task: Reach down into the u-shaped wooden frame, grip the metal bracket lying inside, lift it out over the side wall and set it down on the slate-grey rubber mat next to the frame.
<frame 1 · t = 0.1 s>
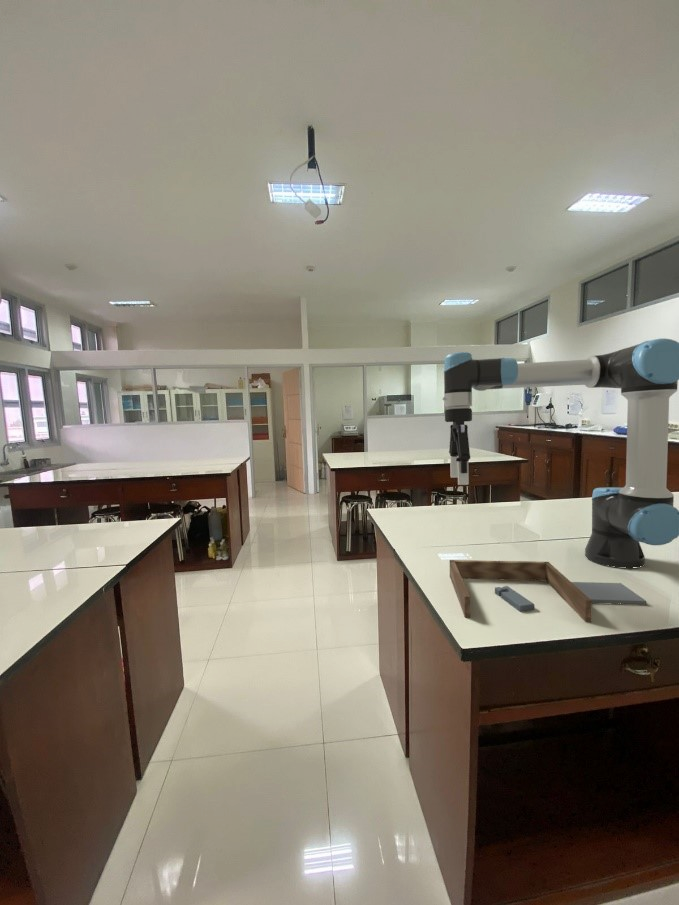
hand: (459, 480, 108), 28 cm above the countertop, tool pointing down, fingers open, 13 cm apart
bracket: (513, 603, 93), on the countertop
u-shaped wooden frame: (510, 596, 95), on the countertop
slate mat: (602, 594, 94), on the countertop
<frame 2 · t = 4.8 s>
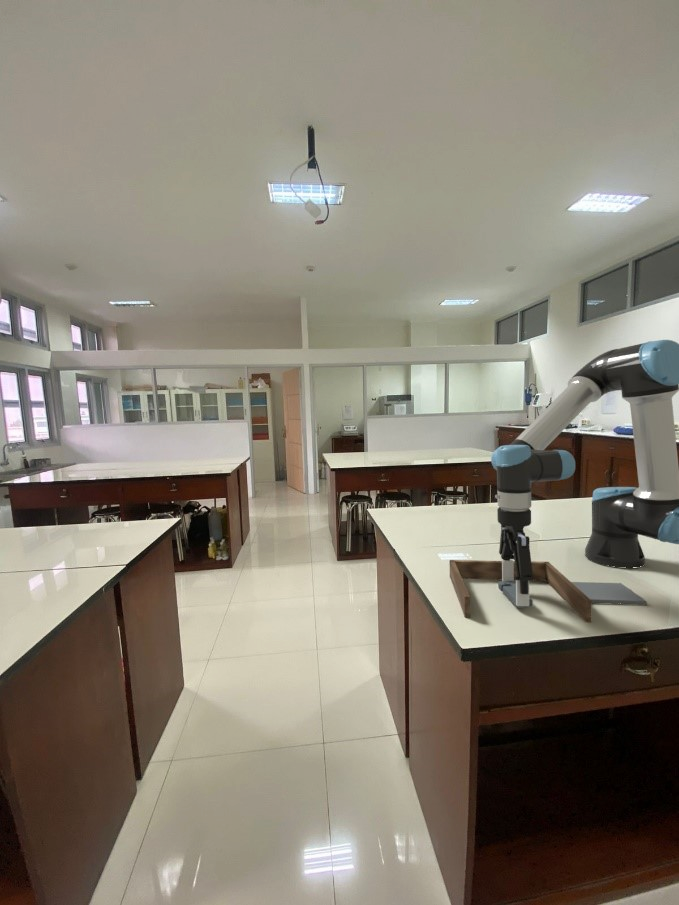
hand: (514, 594, 93), 2 cm above the countertop, tool pointing down, fingers closed on bracket, 11 cm apart
bracket: (514, 598, 93), point 1 cm above the countertop, touching gripper
when the fingers open (3 cm above the countertop, at t = 10.0 s): bracket drops 1 cm, resting on slate mat.
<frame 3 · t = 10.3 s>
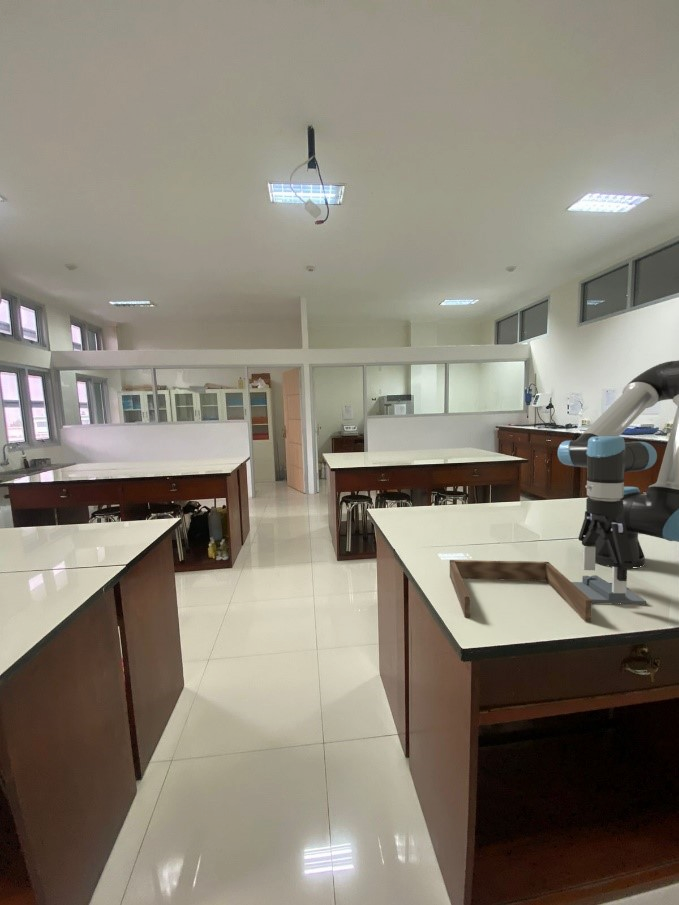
hand: (602, 580, 94), 4 cm above the countertop, tool pointing down, fingers open, 13 cm apart
bracket: (602, 591, 94), point 1 cm above the countertop, touching slate mat
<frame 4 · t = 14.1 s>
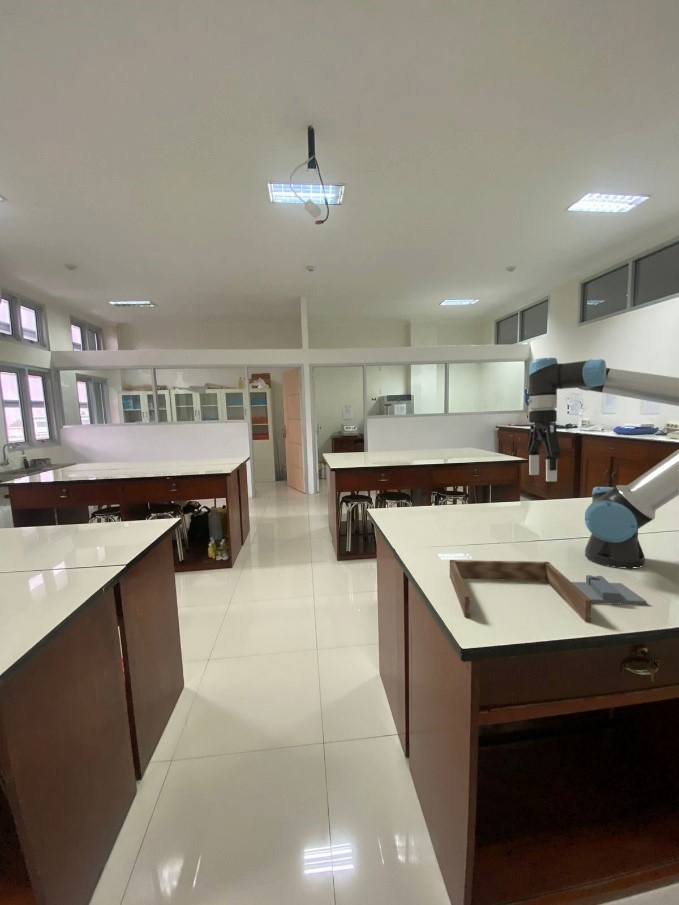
hand: (542, 477, 116), 27 cm above the countertop, tool pointing down, fingers open, 13 cm apart
at the end: bracket inside the target area on the slate mat (0.1 cm from its centre), point 0.8 cm above the slate mat's base; the gripper is holding nothing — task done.
